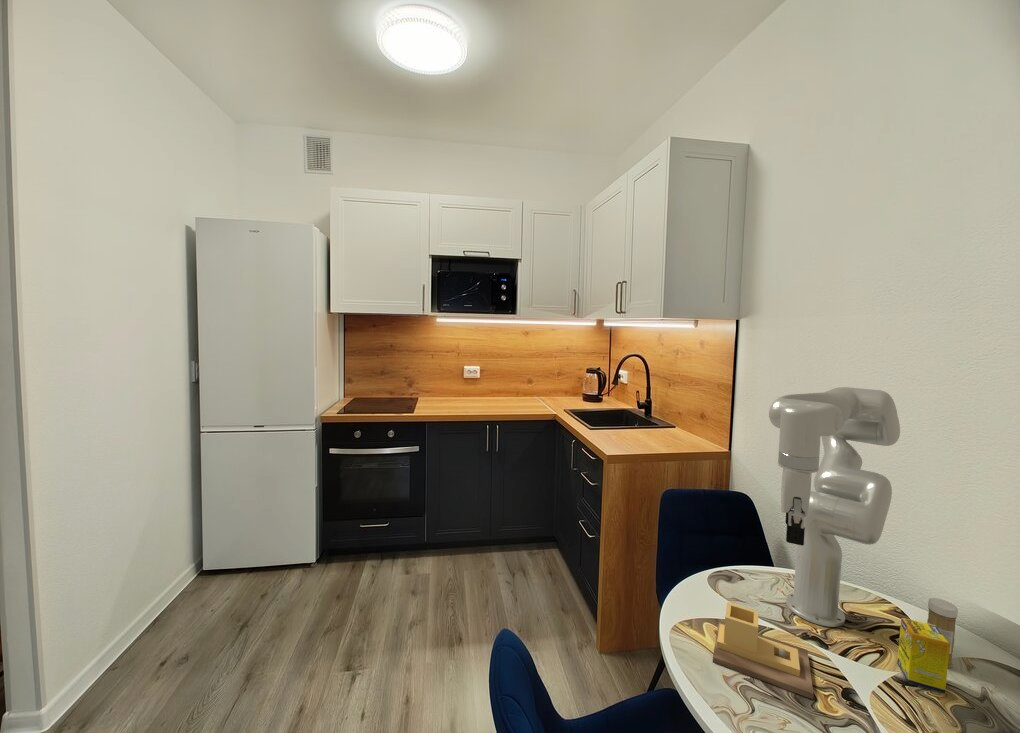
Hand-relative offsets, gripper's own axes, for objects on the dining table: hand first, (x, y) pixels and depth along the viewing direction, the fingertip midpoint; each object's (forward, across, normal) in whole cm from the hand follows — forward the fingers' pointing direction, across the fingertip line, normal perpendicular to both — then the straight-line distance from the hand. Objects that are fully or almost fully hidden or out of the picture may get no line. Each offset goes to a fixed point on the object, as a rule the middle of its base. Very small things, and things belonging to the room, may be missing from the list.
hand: (794, 534), depth 96 cm
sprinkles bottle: (+28, -13, +28) cm, 42 cm away
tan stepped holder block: (+25, +9, -6) cm, 27 cm away
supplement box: (+28, -4, +24) cm, 36 cm away
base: (+26, +9, -5) cm, 28 cm away
